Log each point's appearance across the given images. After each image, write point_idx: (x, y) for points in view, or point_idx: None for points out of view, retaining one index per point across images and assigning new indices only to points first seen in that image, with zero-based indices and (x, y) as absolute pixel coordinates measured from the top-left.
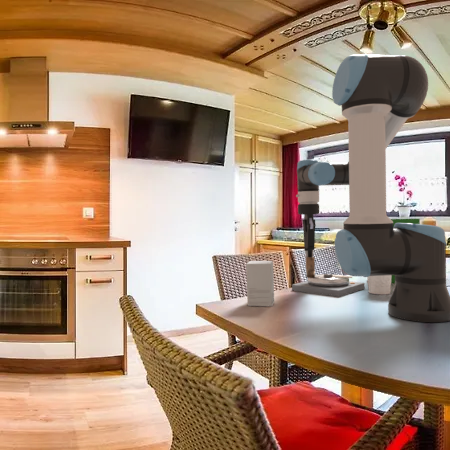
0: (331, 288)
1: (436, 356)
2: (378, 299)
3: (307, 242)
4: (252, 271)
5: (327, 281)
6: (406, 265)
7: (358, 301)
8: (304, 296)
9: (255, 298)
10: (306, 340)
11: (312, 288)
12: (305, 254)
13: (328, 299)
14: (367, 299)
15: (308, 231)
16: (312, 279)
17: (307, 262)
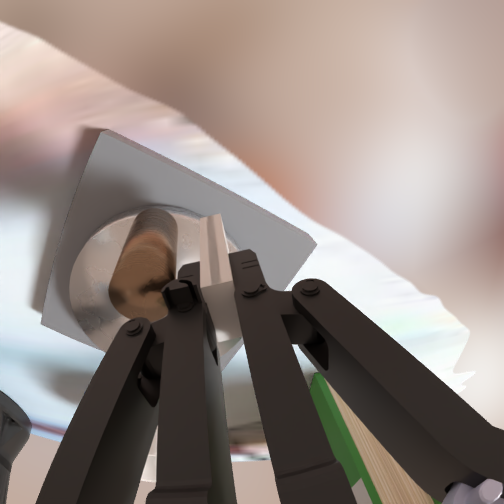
0: (63, 303)
1: None
2: (65, 385)
3: (106, 376)
4: None
5: (73, 305)
6: None
7: (21, 348)
8: (10, 204)
9: None
10: None
11: (62, 233)
12: (221, 261)
13: (3, 282)
14: (52, 367)
15: (41, 496)
16: (84, 246)
17: (119, 258)
